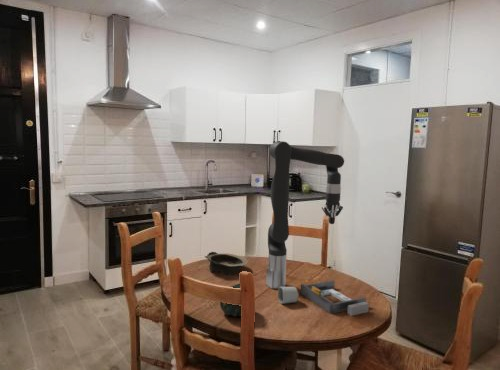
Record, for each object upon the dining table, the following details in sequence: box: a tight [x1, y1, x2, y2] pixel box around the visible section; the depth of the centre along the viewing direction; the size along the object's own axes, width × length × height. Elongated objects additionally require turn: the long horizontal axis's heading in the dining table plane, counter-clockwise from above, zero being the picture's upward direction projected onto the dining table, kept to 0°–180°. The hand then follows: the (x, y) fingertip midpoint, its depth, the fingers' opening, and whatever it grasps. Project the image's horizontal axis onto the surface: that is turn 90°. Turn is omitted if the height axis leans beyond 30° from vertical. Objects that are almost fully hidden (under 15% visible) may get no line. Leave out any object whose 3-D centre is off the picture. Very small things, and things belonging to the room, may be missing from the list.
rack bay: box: [300, 279, 367, 314], centre depth 185 cm, size 20×24×7 cm
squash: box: [219, 283, 241, 317], centre depth 167 cm, size 14×15×15 cm
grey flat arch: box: [321, 289, 352, 302], centre depth 185 cm, size 18×2×15 cm
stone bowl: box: [204, 251, 248, 276], centre depth 223 cm, size 25×25×9 cm
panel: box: [346, 301, 370, 317], centre depth 172 cm, size 10×2×4 cm, turn 116°
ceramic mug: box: [277, 286, 300, 305], centre depth 182 cm, size 11×8×8 cm
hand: (331, 223), depth 206 cm, fingers closed
